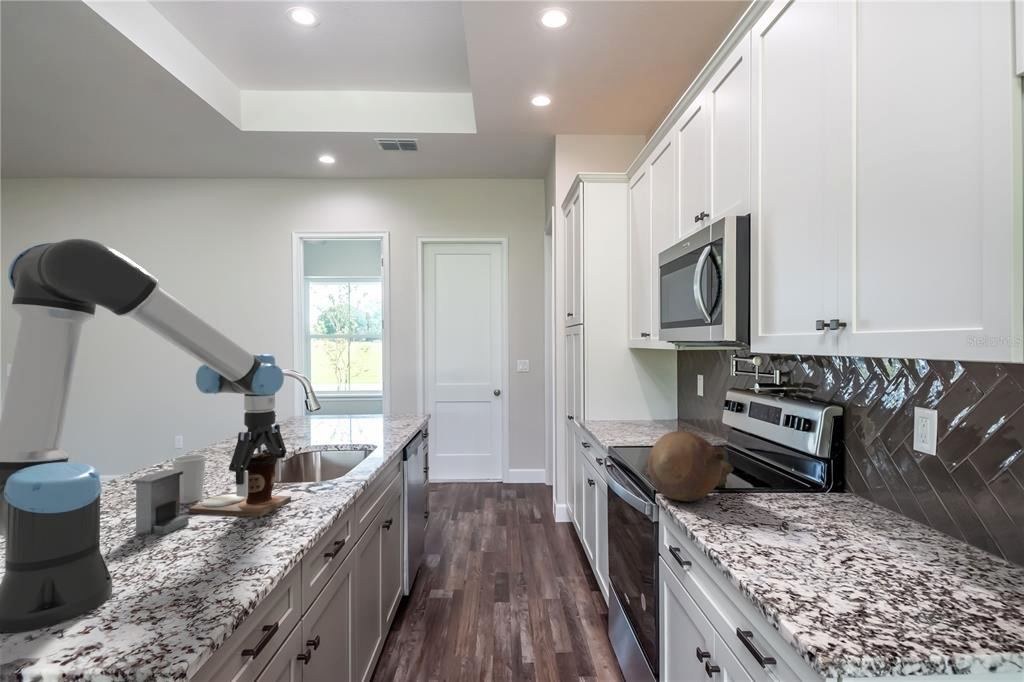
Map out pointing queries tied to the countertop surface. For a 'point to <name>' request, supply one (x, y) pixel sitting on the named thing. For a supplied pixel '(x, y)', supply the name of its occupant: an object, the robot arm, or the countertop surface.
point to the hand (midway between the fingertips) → (259, 488)
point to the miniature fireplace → (159, 503)
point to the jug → (686, 466)
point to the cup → (190, 476)
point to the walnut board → (237, 505)
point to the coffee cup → (261, 478)
